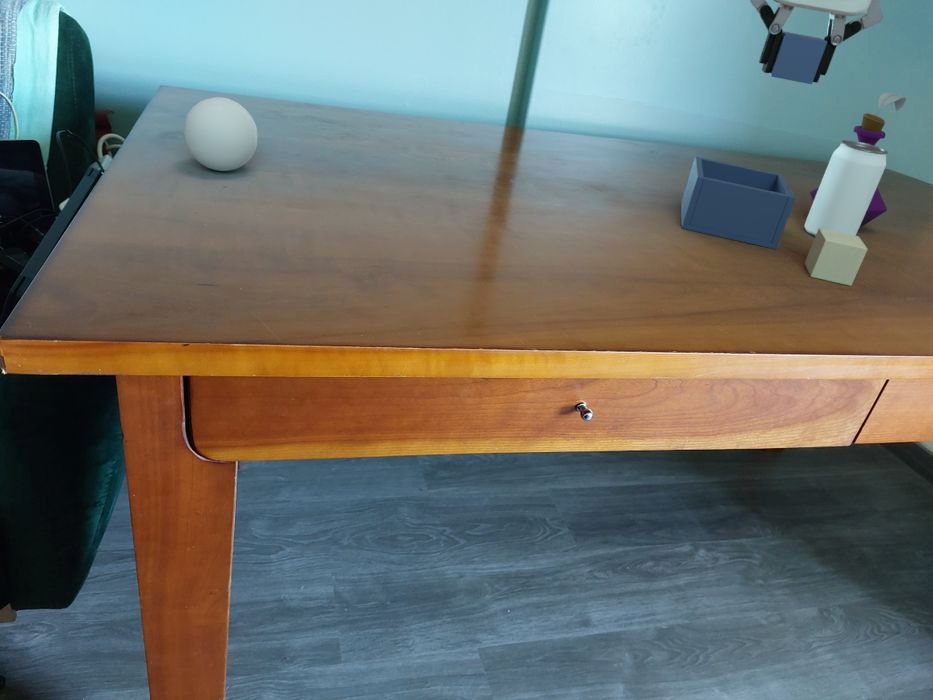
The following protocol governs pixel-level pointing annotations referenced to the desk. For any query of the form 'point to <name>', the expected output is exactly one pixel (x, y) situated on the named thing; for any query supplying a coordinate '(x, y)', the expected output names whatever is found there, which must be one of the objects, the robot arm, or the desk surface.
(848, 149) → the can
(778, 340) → the desk surface
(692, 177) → the blue bin
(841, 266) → the cream block
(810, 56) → the blue block
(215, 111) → the ball
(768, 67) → the robot arm
